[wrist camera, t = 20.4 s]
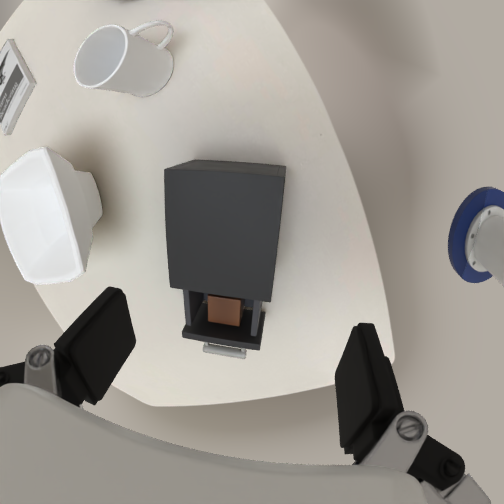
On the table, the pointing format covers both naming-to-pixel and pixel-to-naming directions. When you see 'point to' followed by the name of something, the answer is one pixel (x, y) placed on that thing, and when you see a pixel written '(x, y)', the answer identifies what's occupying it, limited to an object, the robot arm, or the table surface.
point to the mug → (124, 60)
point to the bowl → (48, 216)
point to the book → (13, 85)
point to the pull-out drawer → (222, 327)
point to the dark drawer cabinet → (223, 226)
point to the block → (225, 309)
